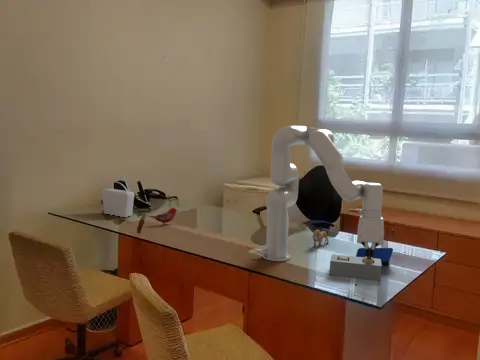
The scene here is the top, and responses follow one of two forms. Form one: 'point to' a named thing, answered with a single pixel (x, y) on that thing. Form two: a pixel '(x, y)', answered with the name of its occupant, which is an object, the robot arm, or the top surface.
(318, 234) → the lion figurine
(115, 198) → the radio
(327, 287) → the top surface
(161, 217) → the decorative bird figurine
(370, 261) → the peg
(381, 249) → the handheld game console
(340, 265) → the block
